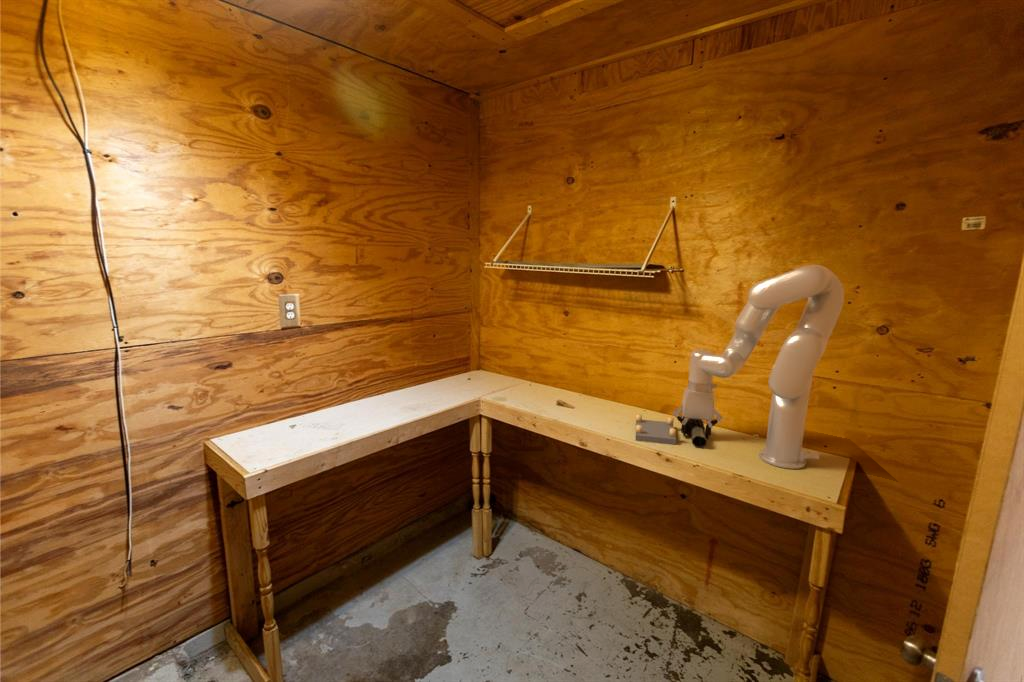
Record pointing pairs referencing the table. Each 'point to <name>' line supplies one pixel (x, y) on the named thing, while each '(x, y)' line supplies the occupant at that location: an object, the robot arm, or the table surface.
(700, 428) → the dark elongated piece
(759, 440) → the table surface
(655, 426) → the pipe stand
